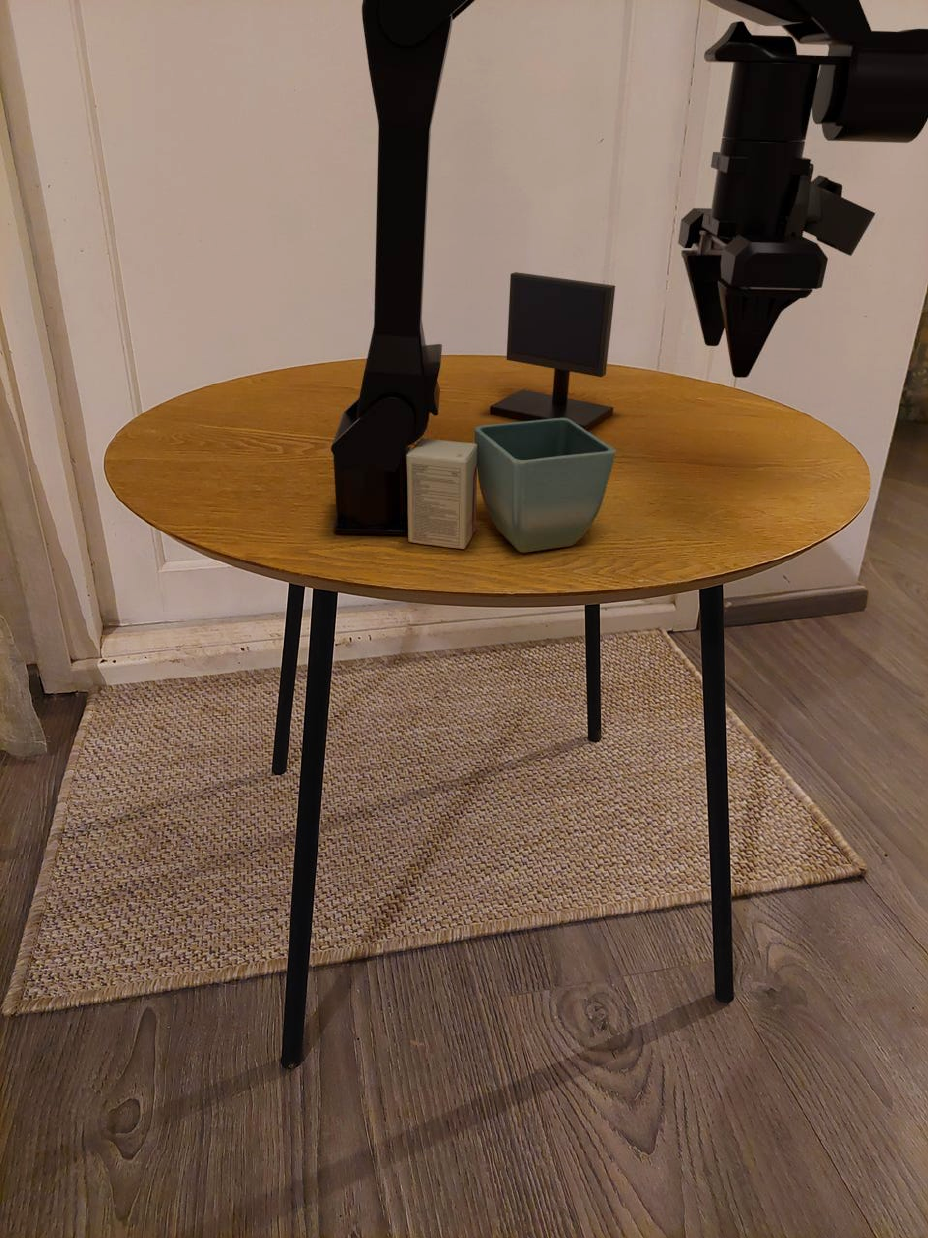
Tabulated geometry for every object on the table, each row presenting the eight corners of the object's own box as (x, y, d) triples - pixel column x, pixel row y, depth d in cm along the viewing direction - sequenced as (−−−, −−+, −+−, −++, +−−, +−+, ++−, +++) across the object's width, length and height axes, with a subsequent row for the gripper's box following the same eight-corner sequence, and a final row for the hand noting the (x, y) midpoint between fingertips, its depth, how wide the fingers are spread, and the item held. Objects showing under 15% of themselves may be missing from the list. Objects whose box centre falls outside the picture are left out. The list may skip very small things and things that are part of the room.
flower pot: (559, 511, 82) (567, 415, 77) (606, 553, 75) (619, 449, 70) (469, 524, 79) (471, 425, 75) (509, 569, 72) (515, 462, 68)
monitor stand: (584, 434, 100) (590, 368, 96) (489, 414, 105) (492, 350, 101) (612, 415, 106) (619, 352, 102) (521, 396, 111) (525, 336, 107)
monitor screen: (601, 377, 99) (610, 287, 95) (505, 360, 105) (509, 273, 100) (606, 375, 100) (615, 285, 95) (511, 357, 106) (515, 271, 101)
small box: (477, 529, 78) (480, 442, 74) (464, 551, 75) (467, 460, 71) (421, 522, 79) (421, 435, 75) (406, 543, 76) (405, 453, 72)
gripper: (934, 152, 56) (870, 398, 64) (830, 134, 72) (789, 334, 80) (756, 147, 56) (714, 395, 64) (691, 130, 72) (664, 330, 80)
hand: (725, 360), depth 72 cm, fingers open, 9 cm apart
